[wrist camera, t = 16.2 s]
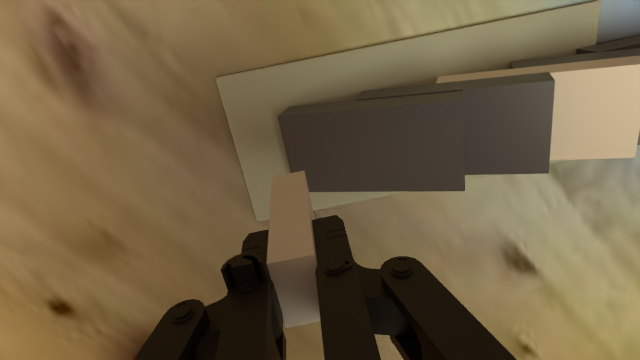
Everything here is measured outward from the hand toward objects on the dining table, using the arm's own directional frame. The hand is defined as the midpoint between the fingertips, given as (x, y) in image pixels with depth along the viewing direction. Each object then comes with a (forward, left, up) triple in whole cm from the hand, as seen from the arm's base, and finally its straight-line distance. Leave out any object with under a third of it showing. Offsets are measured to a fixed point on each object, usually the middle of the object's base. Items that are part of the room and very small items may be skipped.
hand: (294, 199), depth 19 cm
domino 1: (0, 0, -7) cm, 7 cm away
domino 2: (+5, 0, -7) cm, 8 cm away
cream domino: (+9, 0, -7) cm, 11 cm away
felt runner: (+8, 0, -8) cm, 11 cm away
